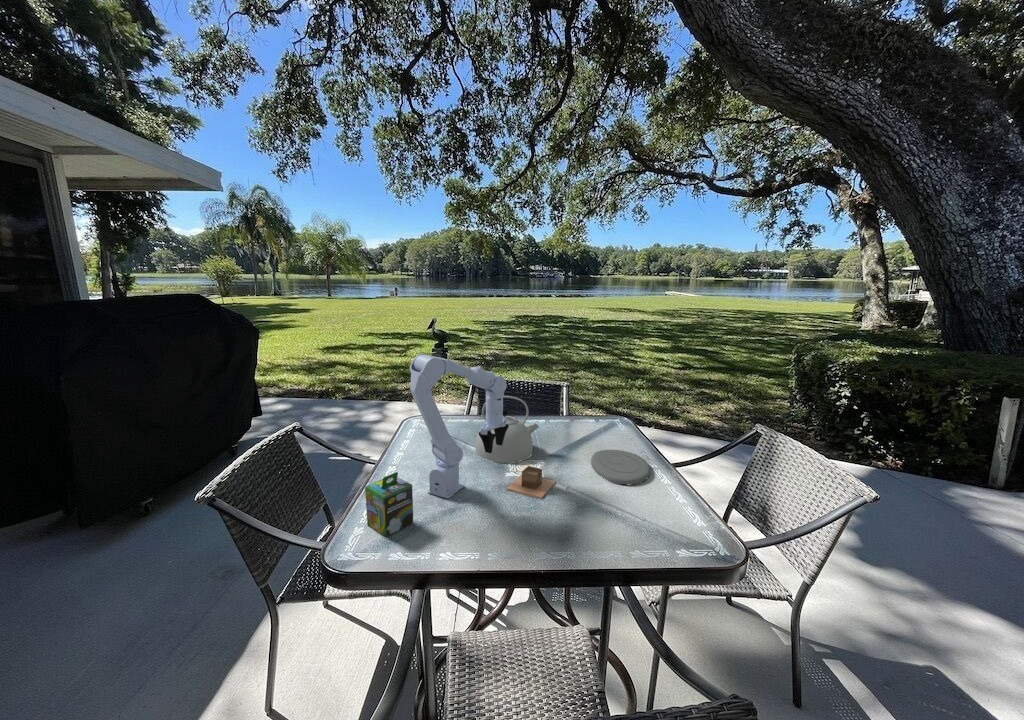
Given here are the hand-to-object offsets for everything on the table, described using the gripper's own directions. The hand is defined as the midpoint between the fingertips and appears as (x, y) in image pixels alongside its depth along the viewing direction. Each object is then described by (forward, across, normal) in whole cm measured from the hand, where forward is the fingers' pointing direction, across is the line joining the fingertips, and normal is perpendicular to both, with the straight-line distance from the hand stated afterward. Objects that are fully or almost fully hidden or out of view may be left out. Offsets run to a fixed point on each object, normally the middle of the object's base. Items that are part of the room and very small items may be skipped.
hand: (494, 448), depth 144 cm
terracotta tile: (+9, -2, -15) cm, 18 cm away
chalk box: (+10, -40, +10) cm, 42 cm away
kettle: (+10, +21, +6) cm, 24 cm away
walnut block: (+9, -2, -15) cm, 18 cm away
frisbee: (+10, +26, -38) cm, 47 cm away
